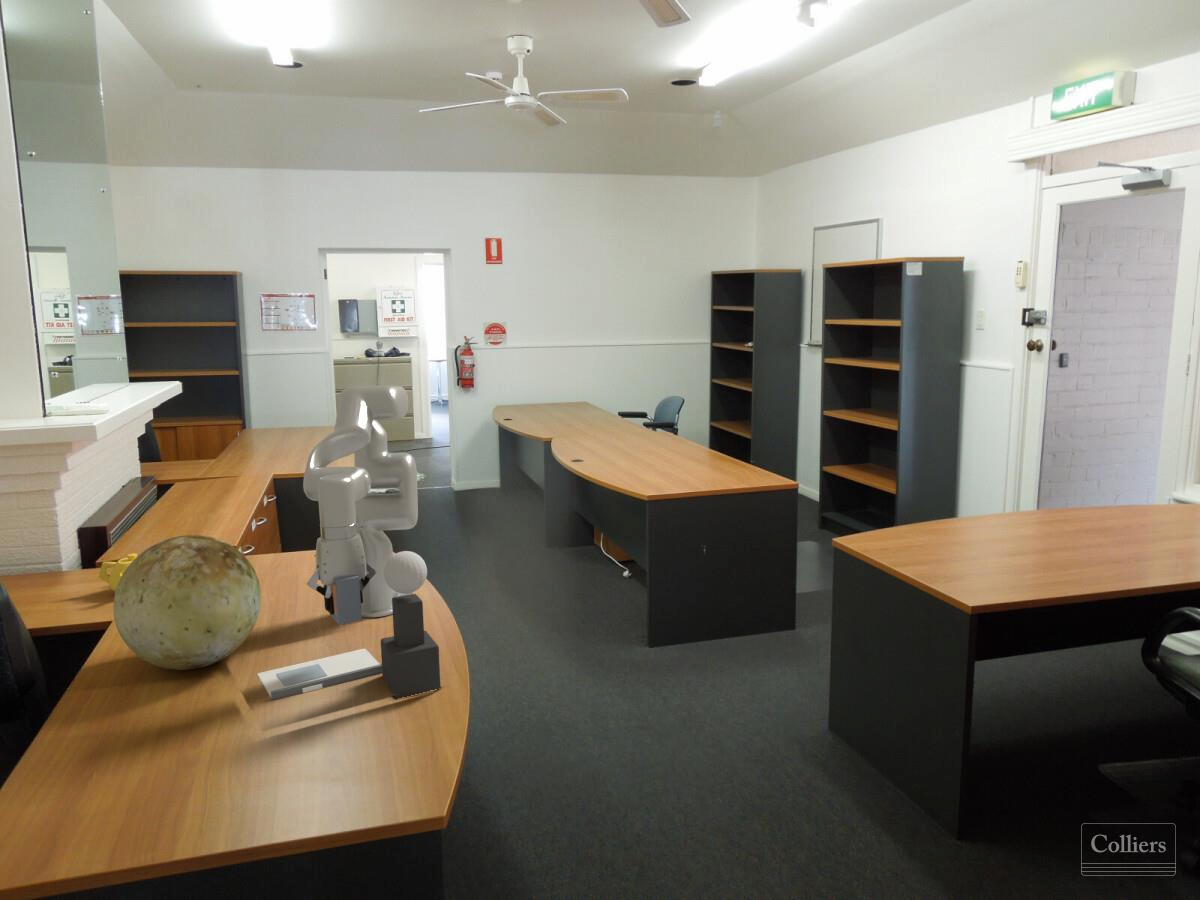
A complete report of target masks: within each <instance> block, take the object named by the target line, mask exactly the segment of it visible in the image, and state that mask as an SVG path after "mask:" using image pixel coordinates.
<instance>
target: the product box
mask: <svg viewBox="0 0 1200 900" xmlns="http://www.w3.org/2000/svg"><path fill="white" fill-rule="evenodd" d="M331 594H332V597H333V602H334V614H333V615H331V614H330V613H329V616H330V617H331V618H332V619H333V621H335V622H336V623H337V624H338V626H342V625H346V624H351V623H354V622H359V621H362V614H361V600H360V585H359V576H357V575H355V576H350V577H345V578H340V579H335V580H334V584H332V593H331Z"/></svg>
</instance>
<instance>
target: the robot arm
mask: <svg viewBox="0 0 1200 900" xmlns="http://www.w3.org/2000/svg"><path fill="white" fill-rule="evenodd" d="M338 397H339V399H338V400H339V401H338V403H339V404H338V408H337V414H336V417H335V424H334V429H333V432H331V433H330V434H328V435H327V436H326V437H324V438H323V439H321V441H319V443H318V444H317V445H315V446H314V447H313V449H312V450H311V451H310V453H309V456H308V458H307V460H306V466H305V468H304V469H305V471H304V474H303V481H302V482H303V483H302V484H303V486H302V487H303V493H304V494H305V497H307V499H309V500H311V501H316V502H318V511H319V512H318V513H319V522H320V523H319V526H320V537H318V538H317V540H316V545H315V546H316V548H315V571H314V572H313V574H312V575H311V577H310V578H309V579H308V581H307V582H306V585H307V586H308V587H309V588H311V589H313V590H314V591H316V592H318V593H319V594H320V595H322V596H323V598H324V609H325V611H326V612H328V613H329V615H330V614H331V615H333V614H334V602H333V597H332V594H331V593H332V584H334V580H335V579H340V578H345V577H350V576H355V575H357V576H359V585H360V600H361V614H362V617H363V618H381V617H387V616H390V615H393V610H392V598H393V597H399V596H405V595H411V594H414V593H413V592H412V593H407V594H403V593H398V592H396V591H394V590H392V589H391V588H390V587H389V586H388V585H387V583H386V580H385V577H384V569H385V565H386V563H387V561H388V560H389V559H390V558H391V557H392V556H393V555H394V554H393V552H394V551H393V543H392V542H391V540H390V538H389V537H388V535H387V534H386V533H385V532H384V531H396V530H397V531H401V530H410V529H413V528H415V526H416V525H417V523H418V518H419V507H418V506H419V502H418V501H419V496H418V495H419V494H418V470H417V469H418V468H417V465H416V464H417V463H416V460H415V458H414V456H413V455H411V453H408V452H389V450H388V435H387V434H388V433H387V432H386V430H385V429H384V427H383V426H382V424H381V423H380V422H379V421H391V420H392V421H393V420H394V421H395V420H396V421H397V420H402V419H404V417H405V416H406V415H407V413H408V410H409V404H410V403H409V396H408V392H407V390H406V389H405V388H404V387H403V386H400V385H358V386H357V385H355V386H351V387H348V388H345V389H343V390H341V392H340V394H339V396H338ZM353 454H354V455H353ZM350 455H353V456H354V466H328V465H330V464H331V463H333V462H335V461H337V460H340V459H343V458H345V457H348V456H350ZM388 489H392V490H394V489H396V490H398V491H399V493H375V494H374V493H372V494H371V493H370V494H368V493H369V492H370V490H388ZM318 581H320V583H321V584H322V585H320V584H318ZM331 615H330V616H331Z"/></svg>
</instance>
